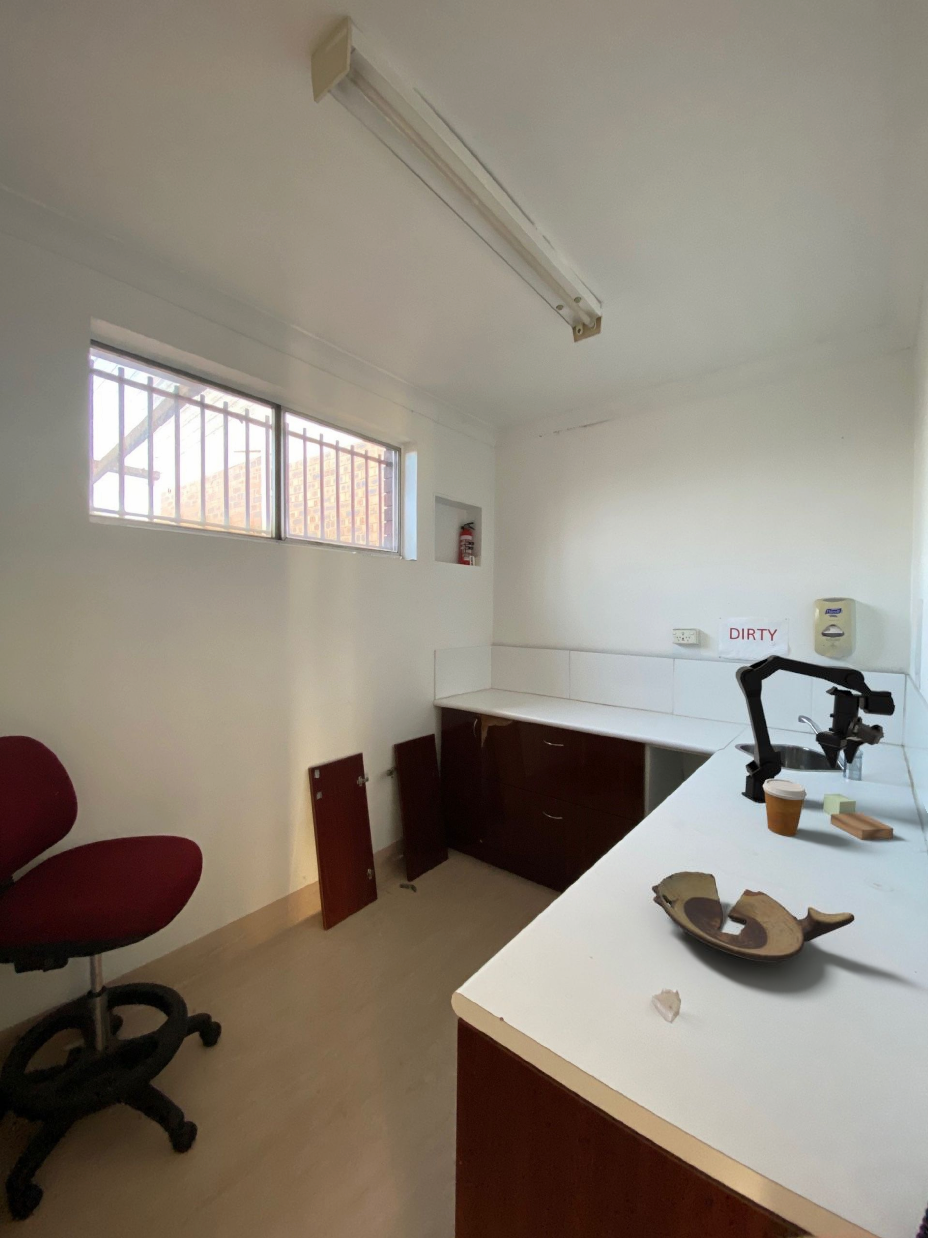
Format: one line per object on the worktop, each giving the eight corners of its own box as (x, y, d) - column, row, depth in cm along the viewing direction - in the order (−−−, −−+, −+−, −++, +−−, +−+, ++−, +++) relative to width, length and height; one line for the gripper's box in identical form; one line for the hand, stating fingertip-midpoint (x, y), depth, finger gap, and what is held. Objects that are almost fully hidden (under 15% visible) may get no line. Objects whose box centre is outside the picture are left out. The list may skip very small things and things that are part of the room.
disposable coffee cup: (761, 833, 128) (764, 787, 128) (759, 819, 137) (762, 775, 136) (806, 843, 124) (809, 795, 123) (801, 827, 132) (804, 782, 132)
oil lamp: (672, 881, 106) (673, 845, 106) (852, 945, 88) (855, 902, 87) (634, 936, 89) (636, 894, 88) (849, 1031, 70) (853, 977, 70)
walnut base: (861, 839, 126) (862, 830, 126) (830, 823, 135) (830, 814, 135) (892, 838, 127) (893, 828, 127) (860, 822, 136) (860, 813, 136)
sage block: (838, 819, 138) (839, 801, 137) (823, 812, 143) (824, 794, 142) (854, 819, 138) (855, 801, 138) (838, 811, 143) (839, 794, 143)
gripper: (863, 721, 132) (858, 780, 133) (895, 715, 141) (890, 770, 142) (816, 712, 142) (812, 767, 142) (849, 706, 151) (845, 758, 152)
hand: (841, 765), depth 144 cm, fingers open, 9 cm apart
